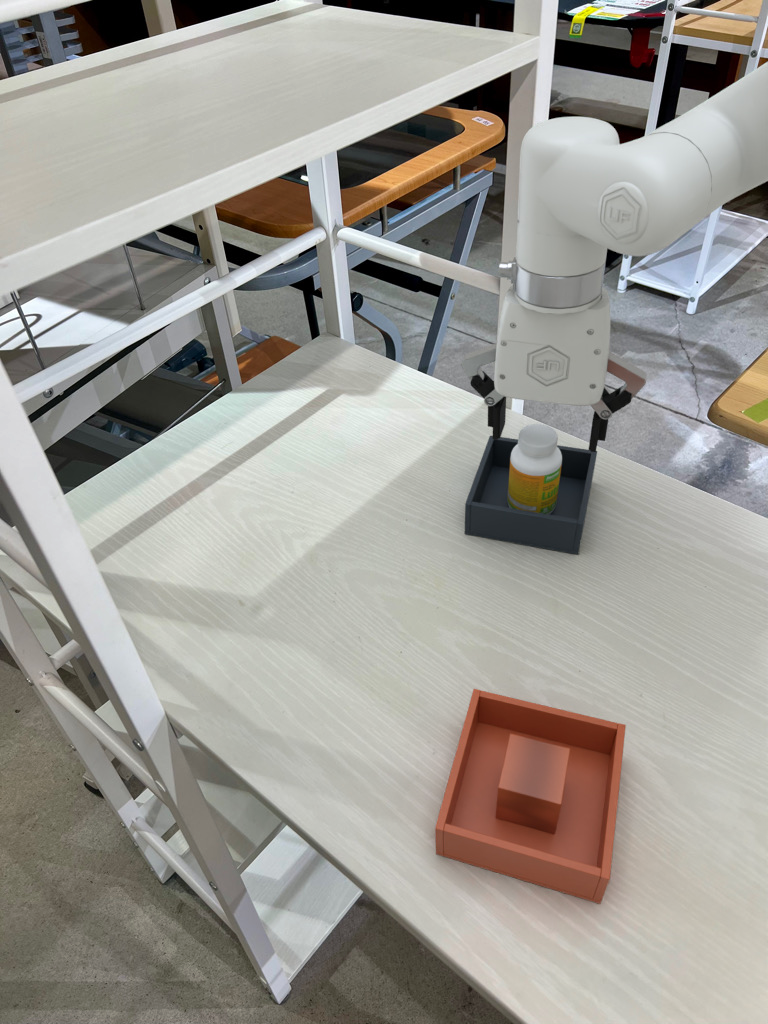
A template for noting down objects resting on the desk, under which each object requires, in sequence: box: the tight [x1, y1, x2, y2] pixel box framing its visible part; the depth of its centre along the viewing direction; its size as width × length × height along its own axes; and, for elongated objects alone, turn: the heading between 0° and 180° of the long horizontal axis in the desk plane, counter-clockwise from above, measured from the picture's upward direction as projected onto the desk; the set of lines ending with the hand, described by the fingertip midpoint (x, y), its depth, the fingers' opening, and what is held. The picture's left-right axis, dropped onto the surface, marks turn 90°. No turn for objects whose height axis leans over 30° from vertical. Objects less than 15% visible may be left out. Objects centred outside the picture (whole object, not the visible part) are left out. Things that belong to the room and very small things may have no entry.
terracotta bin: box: [434, 688, 627, 905], centre depth 58 cm, size 12×12×4 cm
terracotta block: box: [495, 734, 570, 834], centre depth 57 cm, size 5×5×5 cm
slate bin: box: [464, 435, 598, 556], centre depth 82 cm, size 12×12×4 cm
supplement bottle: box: [507, 423, 562, 515], centre depth 80 cm, size 5×5×10 cm
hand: (545, 437), depth 76 cm, fingers open, 9 cm apart
